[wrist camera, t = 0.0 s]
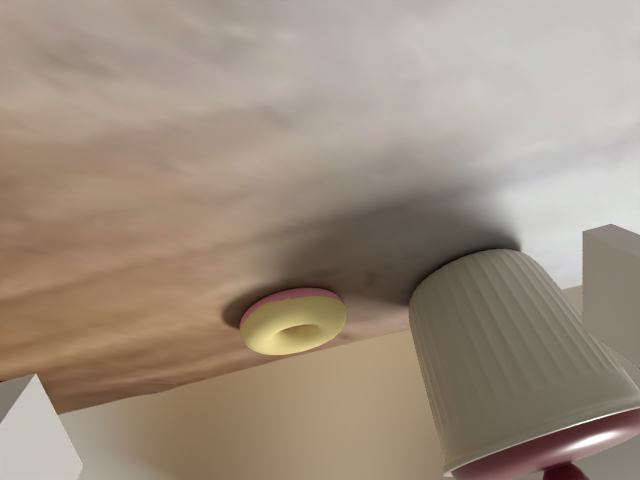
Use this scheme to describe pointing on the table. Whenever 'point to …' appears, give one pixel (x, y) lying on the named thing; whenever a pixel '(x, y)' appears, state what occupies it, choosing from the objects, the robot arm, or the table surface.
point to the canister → (515, 371)
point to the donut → (292, 321)
